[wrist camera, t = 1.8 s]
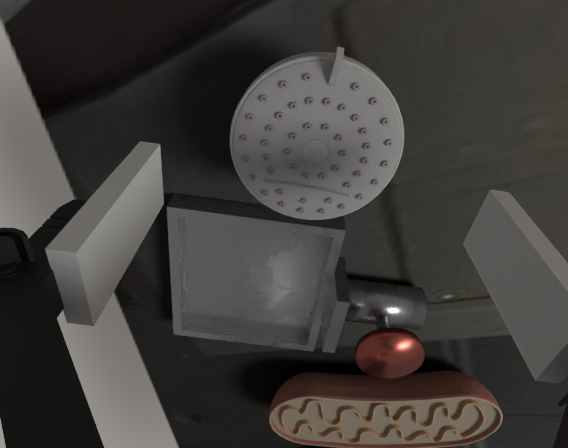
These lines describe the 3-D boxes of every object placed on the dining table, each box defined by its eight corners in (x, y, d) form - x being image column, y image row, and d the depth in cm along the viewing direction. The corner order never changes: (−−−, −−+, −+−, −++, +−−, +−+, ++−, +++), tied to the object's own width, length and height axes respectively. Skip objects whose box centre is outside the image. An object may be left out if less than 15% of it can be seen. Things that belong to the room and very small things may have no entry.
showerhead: (443, 69, 18) (376, 241, 23) (408, 41, 24) (362, 183, 29) (236, 28, 17) (219, 215, 23) (255, 10, 23) (237, 161, 29)
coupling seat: (179, 318, 39) (155, 385, 33) (174, 193, 30) (140, 252, 24) (391, 344, 39) (406, 415, 33) (442, 229, 31) (474, 295, 25)
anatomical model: (492, 350, 39) (513, 396, 35) (473, 405, 45) (490, 450, 41) (268, 353, 41) (264, 397, 37) (277, 405, 47) (274, 448, 43)
